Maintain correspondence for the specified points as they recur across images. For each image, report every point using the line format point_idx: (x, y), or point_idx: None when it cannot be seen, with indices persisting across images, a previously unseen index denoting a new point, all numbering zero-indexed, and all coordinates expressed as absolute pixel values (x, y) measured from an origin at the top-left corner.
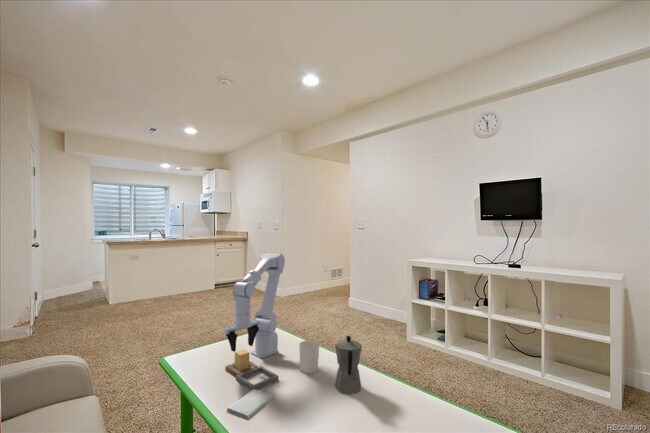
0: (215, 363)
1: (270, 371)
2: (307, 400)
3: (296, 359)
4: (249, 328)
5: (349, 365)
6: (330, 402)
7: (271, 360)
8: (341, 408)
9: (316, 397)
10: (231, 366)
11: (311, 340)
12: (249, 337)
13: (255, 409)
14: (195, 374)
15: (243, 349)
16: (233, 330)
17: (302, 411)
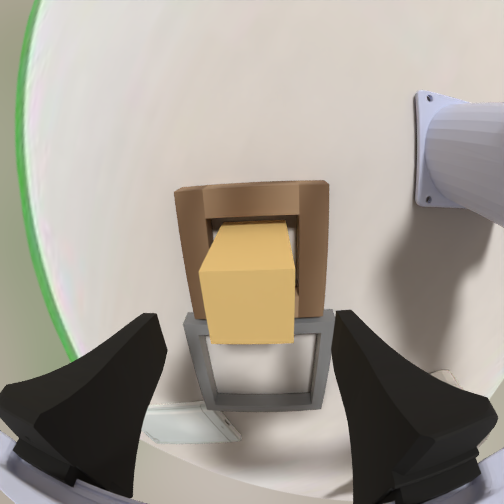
0: (171, 68)
1: (325, 379)
2: (296, 461)
3: (475, 315)
4: (387, 468)
5: None
6: (322, 472)
7: (430, 258)
8: (318, 480)
9: (318, 461)
10: (201, 221)
11: (488, 435)
12: (357, 371)
13: (179, 443)
14: (60, 144)
15: (288, 271)
16: (79, 496)
17: (262, 469)
